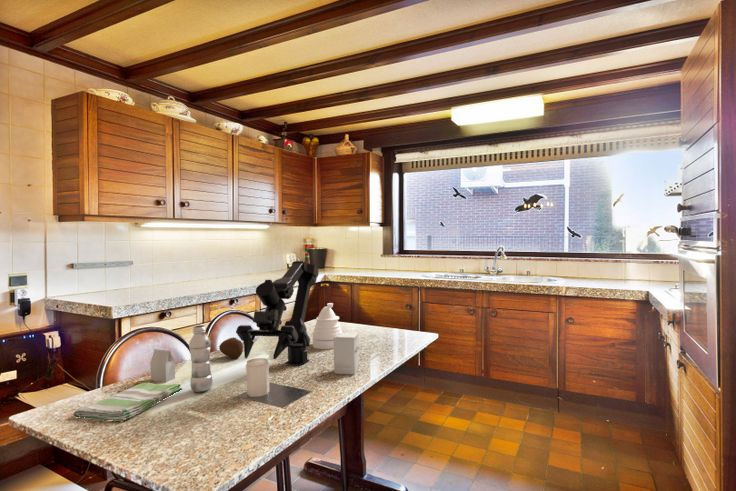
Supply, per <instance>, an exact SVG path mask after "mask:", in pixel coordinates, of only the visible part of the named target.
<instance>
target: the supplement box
mask: <svg viewBox="0 0 736 491" xmlns="http://www.w3.org/2000/svg"><path fill="white" fill-rule="evenodd" d="M333 339H334V348H333V373H334V374H335V375H336V374H337V375H355V374H356V372H357V371H358V369H359V368H360V356H359V355H360V354H359V353H360V352H359V349H360V348H359V332H342V333H338V334H337V335H336V336H335V337H334V338H333Z"/></svg>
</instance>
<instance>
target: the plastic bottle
mask: <svg viewBox="0 0 736 491" xmlns="http://www.w3.org/2000/svg"><path fill="white" fill-rule="evenodd" d="M192 330H193V331H192V334H193V335H192V337H191V338H190V341H189V344H188V349H189V353H190V361H191V376H190V381H189V382H190V384H189V385H190V389H191V390H192V392H195V393H203V392H206V391H209V390H210V389H211V388H212V387H213V383H214V382H213V376H212V371H211V364H210V363H211V362H210V360H211V357H210V356H211V346H212V341H211V339H210V338H209V336H208V335H207V334H206V332H207V329H206V325H204V324H201V325H194V326H193V327H192Z"/></svg>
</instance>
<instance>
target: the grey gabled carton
mask: <svg viewBox="0 0 736 491" xmlns="http://www.w3.org/2000/svg"><path fill="white" fill-rule="evenodd" d="M149 363H150V365H149V366H150V381H153V380H154V382H155V381H156V382H160V381H162V382H163V383H167V382H170V381H173V380H176V366H175V365H176V364H175V360H174V358H173V356H172V353H171V350H167V349H166V350H165V349H156V348H155V349H154V350H153V352H152V357H151V359H150V362H149Z"/></svg>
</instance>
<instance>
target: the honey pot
mask: <svg viewBox="0 0 736 491" xmlns="http://www.w3.org/2000/svg"><path fill="white" fill-rule="evenodd" d="M326 305H327V306H323V308H322V309H321V310H320V312H319V313H318V314H319V315H318V316H317V317H316V318H315V320H316V322H315V325H314V329H313V332H312V347H313V348H315V349H318V350H319V349H320V350H332V349H333V350H334V339H333V338H334V337H335V336H336V335H337V334H338V333H343V330H342V328H341V326H340V323H339V320H340V316H338V315H336V313H335V312H334V310H333V309H332V308H333V307H334V303H333V302H329V303H327V304H326Z"/></svg>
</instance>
